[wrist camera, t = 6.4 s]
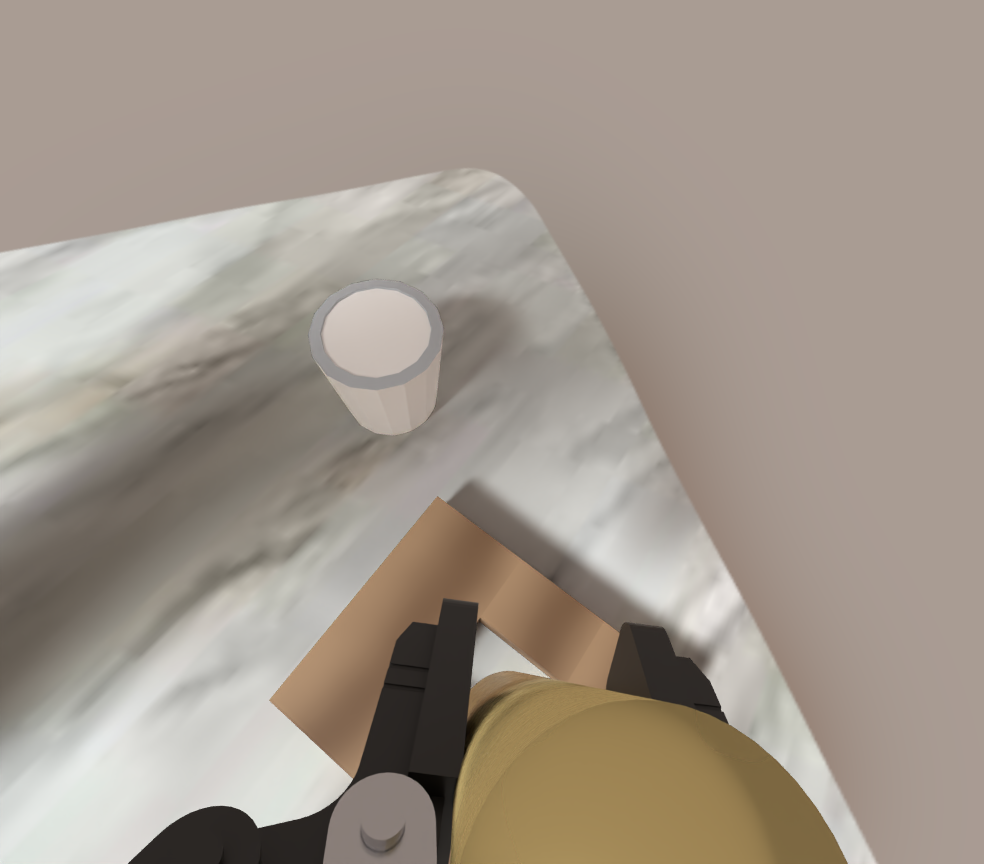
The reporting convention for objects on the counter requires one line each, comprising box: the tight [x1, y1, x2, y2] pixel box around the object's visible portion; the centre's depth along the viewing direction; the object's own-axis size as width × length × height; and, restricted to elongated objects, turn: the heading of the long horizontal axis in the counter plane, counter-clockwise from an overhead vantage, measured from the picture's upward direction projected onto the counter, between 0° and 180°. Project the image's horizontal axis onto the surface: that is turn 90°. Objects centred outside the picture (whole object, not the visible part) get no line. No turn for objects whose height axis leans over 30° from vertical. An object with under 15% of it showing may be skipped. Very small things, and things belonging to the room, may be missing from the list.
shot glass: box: [308, 279, 444, 436], centre depth 29 cm, size 7×7×7 cm
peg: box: [450, 671, 848, 864], centre depth 9 cm, size 3×3×12 cm
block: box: [269, 496, 620, 864], centre depth 25 cm, size 16×12×2 cm
